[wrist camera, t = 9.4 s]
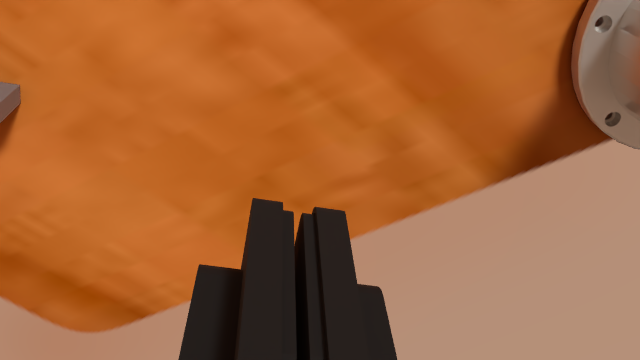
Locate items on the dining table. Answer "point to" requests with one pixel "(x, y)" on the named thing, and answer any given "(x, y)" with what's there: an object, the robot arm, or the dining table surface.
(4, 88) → the box
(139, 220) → the dining table surface
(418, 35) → the dining table surface
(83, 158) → the dining table surface
